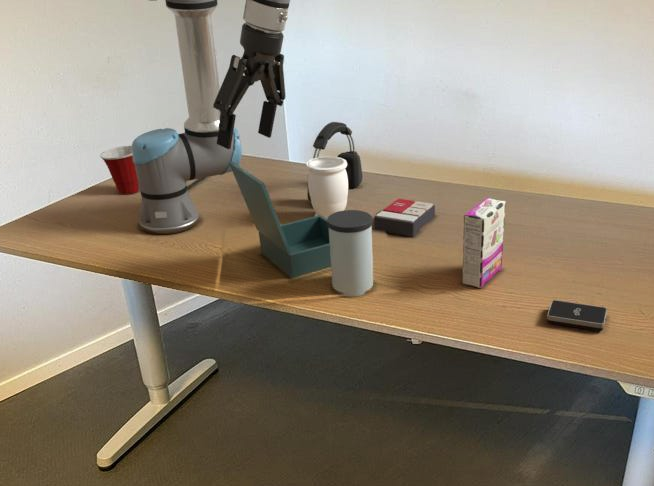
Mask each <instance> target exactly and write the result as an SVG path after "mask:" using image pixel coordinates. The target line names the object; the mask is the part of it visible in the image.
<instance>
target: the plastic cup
mask: <svg viewBox="0 0 654 486" xmlns="http://www.w3.org/2000/svg"><path fill="white" fill-rule="evenodd" d="M99 156H100V158H101V159H102V160H103V161H104V163H105V165H106V167H107V169H108V171H109V173H110V176H111V178H112V181H113V183H114V184H115V187H116V189H117V192H118V193H119V194H121V195H133V194H136V193H138V192H139V191H140V187H139V183H138V178H137V173H136V169H135V164H134V162H133V154H132V145H121V146H116V147H112V148H110V149H107V150H105V151H103V152H102V153H100V154H99Z"/></svg>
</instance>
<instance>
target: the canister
mask: <svg viewBox="0 0 654 486" xmlns="http://www.w3.org/2000/svg"><path fill="white" fill-rule="evenodd" d="M327 225H328V227H329V242H330V257H331V267H330V273H331V285H332V288H333V289H334V290H335V291H337V292H339V293H338V295H340V296H342V297H350V298H351V297H352V298H353V297H361V296H365V295H366V294H369V293H370V292H371V290H370V289H372V287H373V286H374V263H373V262H374V260H373V230H372V229H373V227H372V226H373V216H372V215H371V214H370V213H369V212H366V211H363V210H357V209H345V210H344V211H339V212H335V213H333V214H331V215H330V216H329V217H328V218H327Z"/></svg>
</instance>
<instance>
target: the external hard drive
mask: <svg viewBox="0 0 654 486" xmlns="http://www.w3.org/2000/svg"><path fill="white" fill-rule="evenodd" d="M607 312H608V308H607V307H605V306H599V305H592V304H585V303H578V302H573V301H566V300H565V301H564V300H558V299H553V300H551V303H550V306H549V309H548V311H547V316H546V322H547V323H548V324H552V325H559V326H564V327H570V328H578V329H584V330H591V331H597V332H601V331H603V330H604V326H605V323H606V320H607Z"/></svg>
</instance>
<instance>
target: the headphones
mask: <svg viewBox="0 0 654 486" xmlns="http://www.w3.org/2000/svg"><path fill="white" fill-rule="evenodd" d="M337 133H340V134H341V135H345V136H346V138H347V140H348V144H349V151H345V152H344V151H343V152H341V153H340V154H338V155H337V156H336V157H339V158H343V159H345V160H346V161H347V167H346V168H345V169H346V172H347V177H348V189H349V188H350V189H356V188H358V187H360V185H361V184H362V183H363V169H362V162H361V161H362V160H361V157H360V155H359V154H358V153H357V151H356V148H355V141H354V138H353V137H352V134H353V131H352V129H351V128H349V127H348V126H347V124H346V123H344V122H339V121H330V122H329V123H327V124H326V125H324V127H322V129H321V130H320V131H319V133H318V135H317V136H316V137H315V140H314V142H313V145H312V148H314V153H313V157H312V159H314V158H319V157H320V153H321V151H322V150H326V147H327V144H328V142H329V141H330V139H331V138H333V136H335V134H337ZM308 174H309V172H308V173H307V175H308ZM306 192H307V201H308V202H309V203H310V204H312V203H311V198H310V194H309V189H308V188H307V191H306Z"/></svg>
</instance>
